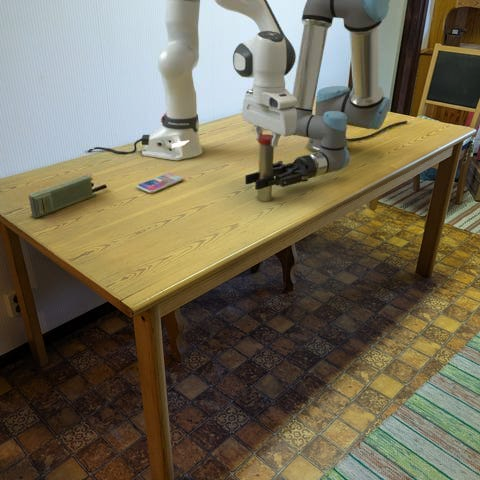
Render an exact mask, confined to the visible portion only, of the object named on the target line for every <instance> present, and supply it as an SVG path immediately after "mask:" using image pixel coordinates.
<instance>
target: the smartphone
mask: <svg viewBox="0 0 480 480" xmlns="http://www.w3.org/2000/svg"><path fill="white" fill-rule="evenodd" d="M182 181H184V177H183V176H180V175H179V174H174V173H172V172H166V173H163V174H161V175H159V176H156V177H154V178H151V179H149V180H146V181H143V182H141V183H138V184H137V185H136V188H137V189H139V190H141V191H143V192H145V193H148V194H154V193H156V192H158V191H160V190H161V191H162V190H164V189H166V188H168V187H170V186H172V185H175V184H177V183H180V182H182Z"/></svg>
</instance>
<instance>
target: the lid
mask: <svg viewBox="0 0 480 480" xmlns="http://www.w3.org/2000/svg"><path fill="white" fill-rule="evenodd" d="M263 134H264V133H263ZM273 137H274V136H273V135H272V134H270V133H269V134H267V133H266V134H264V135H260V136H259V138H258V140H257V143H258V144H259V145H260V144H262V145H270V140H272V139H273Z"/></svg>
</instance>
